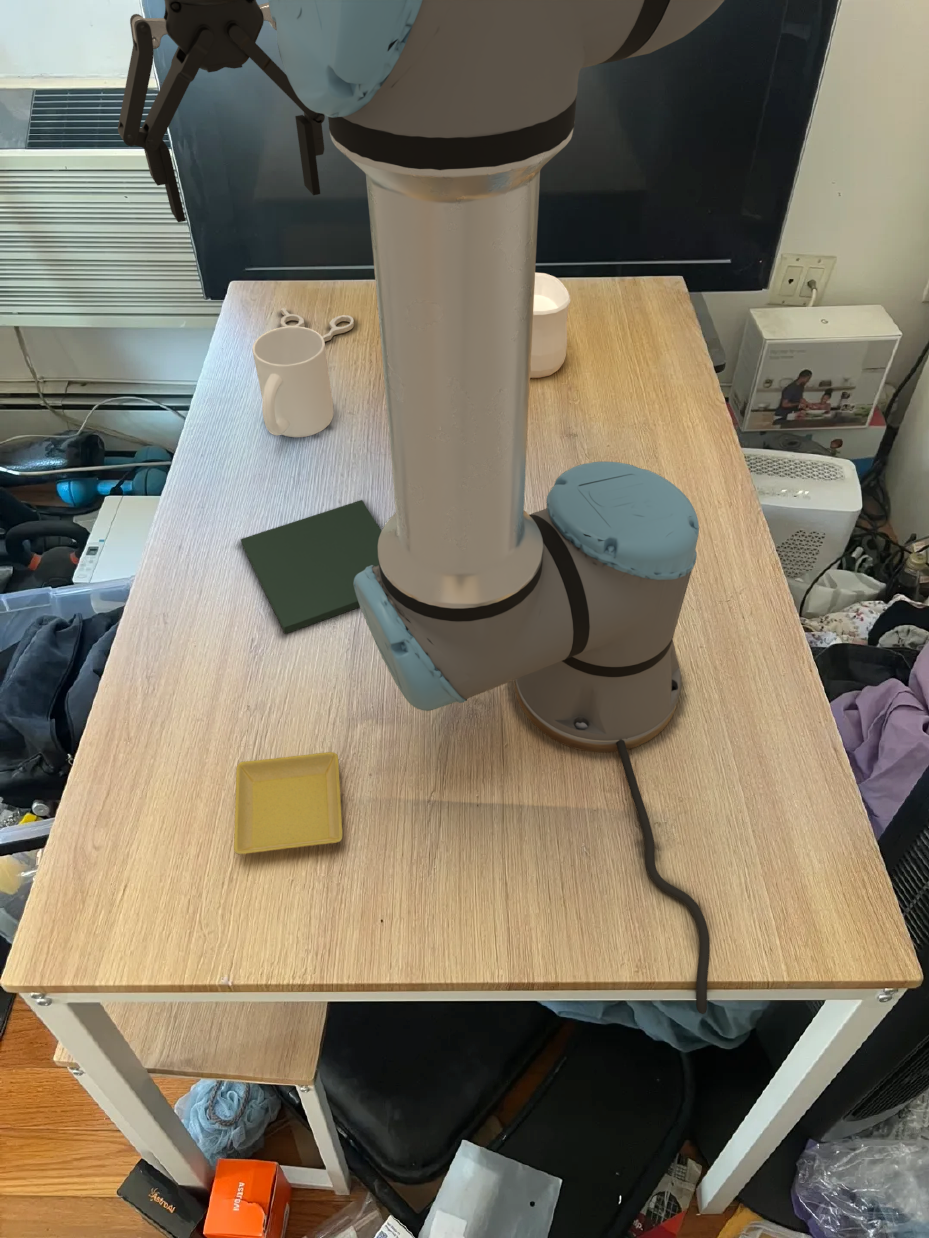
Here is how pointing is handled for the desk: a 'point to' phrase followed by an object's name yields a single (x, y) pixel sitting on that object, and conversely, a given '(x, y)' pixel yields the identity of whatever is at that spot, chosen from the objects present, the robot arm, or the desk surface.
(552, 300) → the cup
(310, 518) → the cup mat
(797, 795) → the desk surface
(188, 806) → the desk surface
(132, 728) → the desk surface
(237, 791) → the saucer
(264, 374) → the mug
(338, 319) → the scissors
